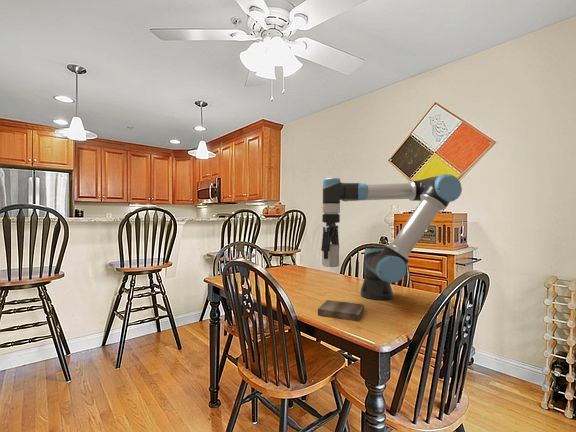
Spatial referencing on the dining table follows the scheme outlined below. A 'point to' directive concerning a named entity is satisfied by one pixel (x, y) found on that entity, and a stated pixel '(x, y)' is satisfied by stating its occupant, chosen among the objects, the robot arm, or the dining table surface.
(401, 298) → the dining table surface
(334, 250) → the cup
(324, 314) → the board
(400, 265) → the robot arm
